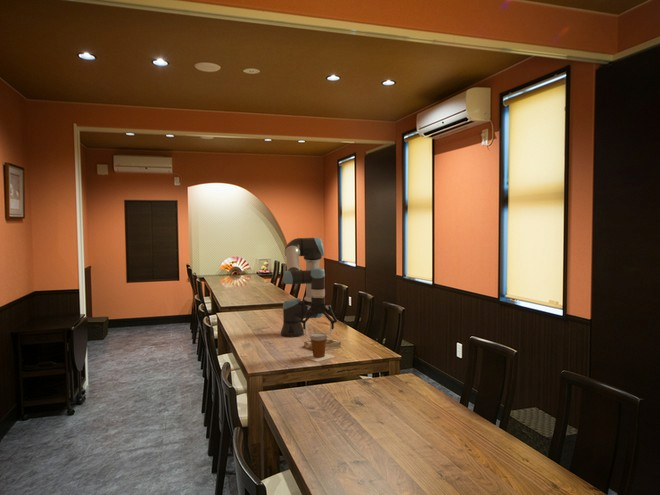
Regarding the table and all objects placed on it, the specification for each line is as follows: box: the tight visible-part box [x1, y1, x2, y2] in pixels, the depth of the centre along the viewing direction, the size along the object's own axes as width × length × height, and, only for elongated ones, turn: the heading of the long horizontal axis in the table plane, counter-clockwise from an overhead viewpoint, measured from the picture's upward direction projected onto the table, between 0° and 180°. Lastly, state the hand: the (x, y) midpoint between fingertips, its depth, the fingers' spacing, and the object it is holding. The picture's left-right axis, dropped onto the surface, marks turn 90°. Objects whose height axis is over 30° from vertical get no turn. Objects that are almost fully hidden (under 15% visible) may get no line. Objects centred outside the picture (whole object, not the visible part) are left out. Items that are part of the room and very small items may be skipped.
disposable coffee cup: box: [309, 332, 328, 358], centre depth 257 cm, size 10×10×12 cm
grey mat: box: [302, 352, 336, 363], centre depth 257 cm, size 13×13×1 cm
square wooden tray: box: [303, 337, 342, 352], centre depth 278 cm, size 15×15×3 cm
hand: (318, 335), depth 256 cm, fingers open, 13 cm apart
